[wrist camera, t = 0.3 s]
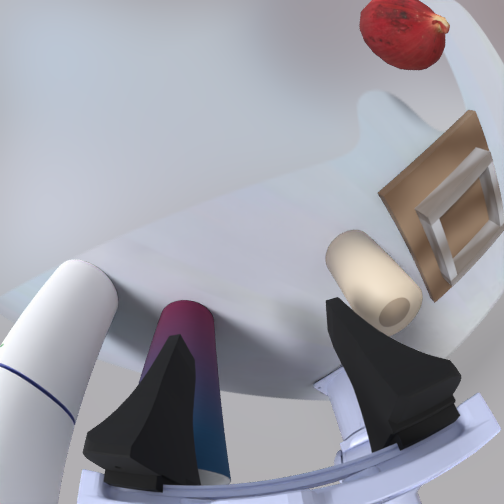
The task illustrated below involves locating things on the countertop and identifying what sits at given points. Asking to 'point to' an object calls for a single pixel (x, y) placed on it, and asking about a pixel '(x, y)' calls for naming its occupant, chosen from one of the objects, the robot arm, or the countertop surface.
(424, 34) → the red round fruit
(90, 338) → the cylindrical container
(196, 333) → the cup
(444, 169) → the holder
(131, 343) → the countertop surface
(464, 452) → the robot arm
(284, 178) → the countertop surface
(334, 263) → the roll
